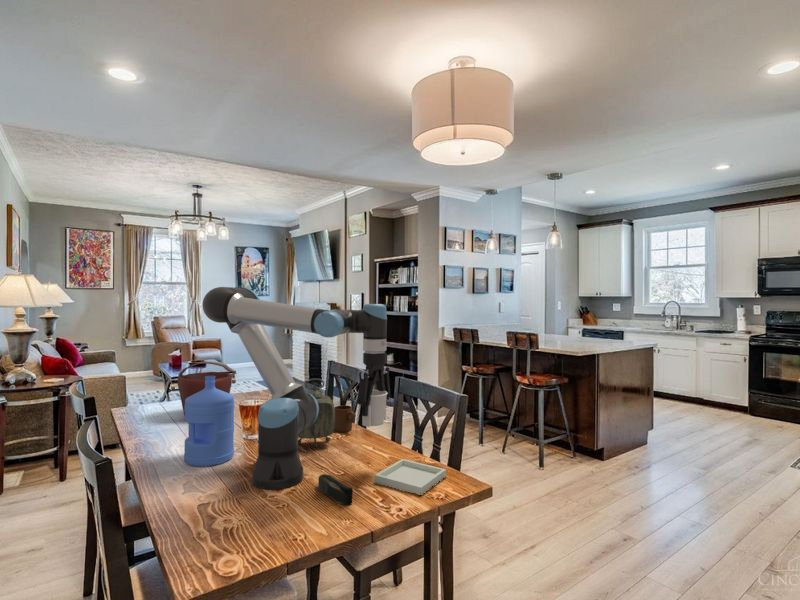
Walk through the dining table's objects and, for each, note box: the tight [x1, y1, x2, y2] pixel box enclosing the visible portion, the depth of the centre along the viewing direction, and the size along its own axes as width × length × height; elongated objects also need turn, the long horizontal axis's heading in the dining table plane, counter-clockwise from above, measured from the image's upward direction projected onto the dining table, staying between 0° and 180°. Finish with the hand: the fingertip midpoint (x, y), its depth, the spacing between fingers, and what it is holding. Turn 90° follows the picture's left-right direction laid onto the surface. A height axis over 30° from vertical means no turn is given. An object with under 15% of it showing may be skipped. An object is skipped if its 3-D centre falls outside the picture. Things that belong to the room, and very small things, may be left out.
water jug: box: [183, 376, 235, 467], centre depth 152 cm, size 16×16×28 cm
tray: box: [374, 458, 447, 496], centre depth 137 cm, size 16×16×2 cm
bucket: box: [177, 361, 236, 417], centre depth 204 cm, size 24×22×25 cm
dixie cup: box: [369, 389, 388, 427], centre depth 144 cm, size 8×8×10 cm
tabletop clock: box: [298, 377, 335, 448], centre depth 167 cm, size 14×9×25 cm, turn 108°
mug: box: [334, 405, 356, 433], centre depth 185 cm, size 12×8×9 cm, turn 40°
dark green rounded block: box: [314, 473, 353, 506], centre depth 125 cm, size 5×3×15 cm
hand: (374, 422), depth 144 cm, fingers closed on dixie cup, 8 cm apart
